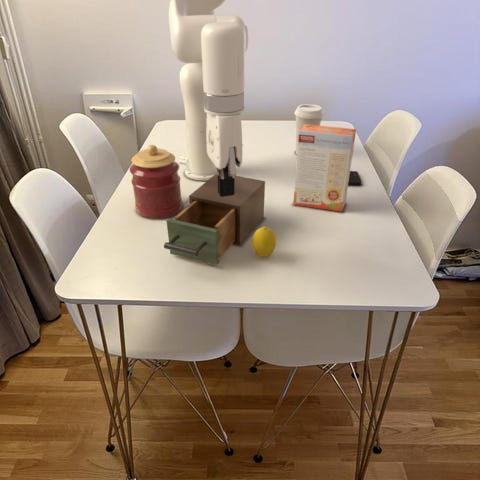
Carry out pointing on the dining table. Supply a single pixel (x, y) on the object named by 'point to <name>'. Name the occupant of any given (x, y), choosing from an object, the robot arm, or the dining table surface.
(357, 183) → the cell phone
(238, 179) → the cabinet
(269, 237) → the lemon
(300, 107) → the coffee cup
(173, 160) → the kitchen canister
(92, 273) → the dining table surface
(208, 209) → the drawer
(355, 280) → the dining table surface
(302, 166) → the cracker box
